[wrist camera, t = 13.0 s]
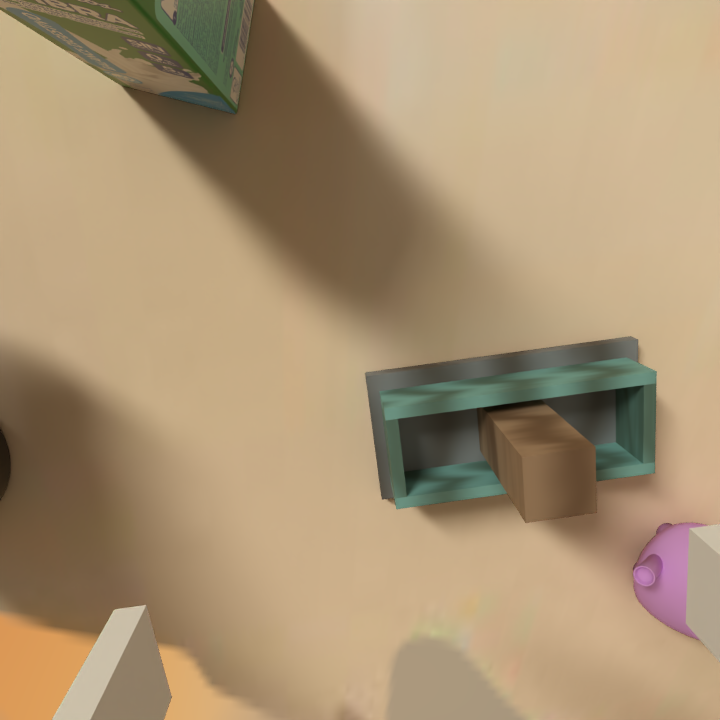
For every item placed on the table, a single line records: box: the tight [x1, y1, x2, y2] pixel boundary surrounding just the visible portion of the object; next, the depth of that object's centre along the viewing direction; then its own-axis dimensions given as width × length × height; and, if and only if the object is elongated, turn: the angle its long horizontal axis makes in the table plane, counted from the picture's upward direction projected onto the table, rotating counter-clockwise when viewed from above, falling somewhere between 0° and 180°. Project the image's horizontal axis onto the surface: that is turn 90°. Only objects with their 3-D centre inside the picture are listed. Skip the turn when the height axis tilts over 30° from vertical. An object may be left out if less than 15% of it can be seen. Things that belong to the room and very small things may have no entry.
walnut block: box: [477, 399, 597, 523], centre depth 42 cm, size 5×5×12 cm
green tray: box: [365, 337, 657, 509], centre depth 46 cm, size 24×12×6 cm, turn 97°
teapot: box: [633, 523, 708, 641], centre depth 49 cm, size 10×15×9 cm
